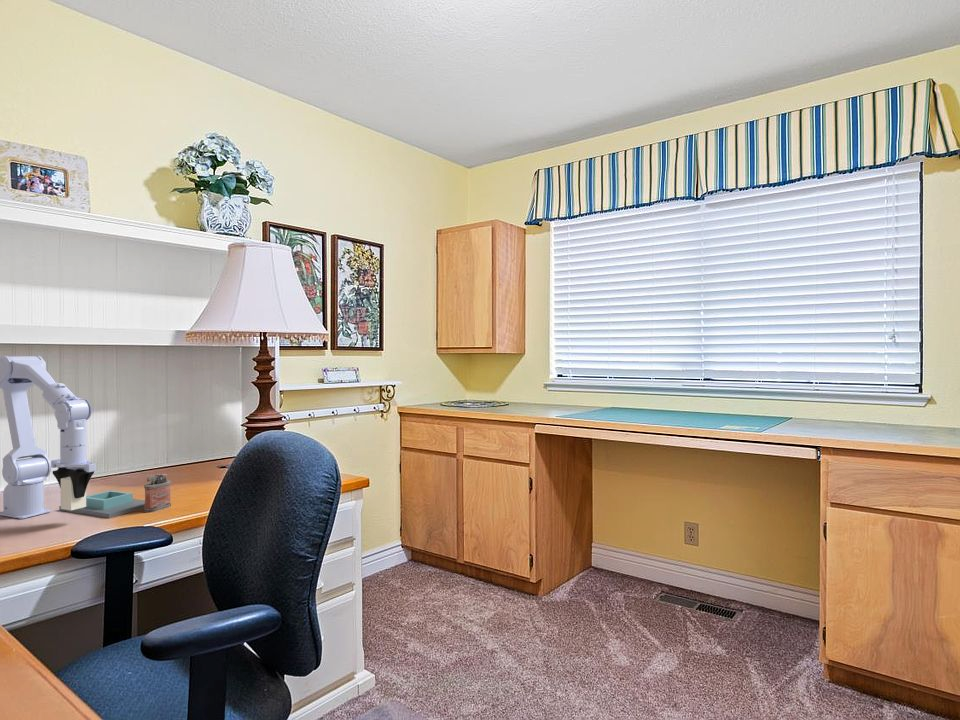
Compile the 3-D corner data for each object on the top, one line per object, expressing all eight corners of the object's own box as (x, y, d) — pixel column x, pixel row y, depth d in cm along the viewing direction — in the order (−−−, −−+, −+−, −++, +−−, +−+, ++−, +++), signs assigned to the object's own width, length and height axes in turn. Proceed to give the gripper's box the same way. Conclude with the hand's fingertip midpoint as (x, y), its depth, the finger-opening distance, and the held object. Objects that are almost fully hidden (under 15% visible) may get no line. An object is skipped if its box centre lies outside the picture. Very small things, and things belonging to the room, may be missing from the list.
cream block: (60, 508, 157) (60, 478, 157) (75, 505, 161) (75, 475, 161) (71, 510, 156) (71, 479, 155) (86, 506, 159) (86, 476, 159)
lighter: (165, 504, 177) (165, 471, 177) (173, 506, 176) (173, 472, 176) (141, 511, 170) (141, 476, 170) (149, 513, 169) (149, 477, 168)
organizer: (59, 510, 170) (59, 497, 170) (105, 498, 184) (105, 486, 183) (109, 518, 163) (109, 504, 163) (153, 505, 176) (153, 493, 176)
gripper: (39, 445, 157) (39, 497, 157) (77, 449, 151) (77, 503, 152) (66, 441, 163) (66, 491, 164) (103, 445, 158) (103, 496, 158)
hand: (73, 496), depth 158 cm, fingers closed on cream block, 4 cm apart
